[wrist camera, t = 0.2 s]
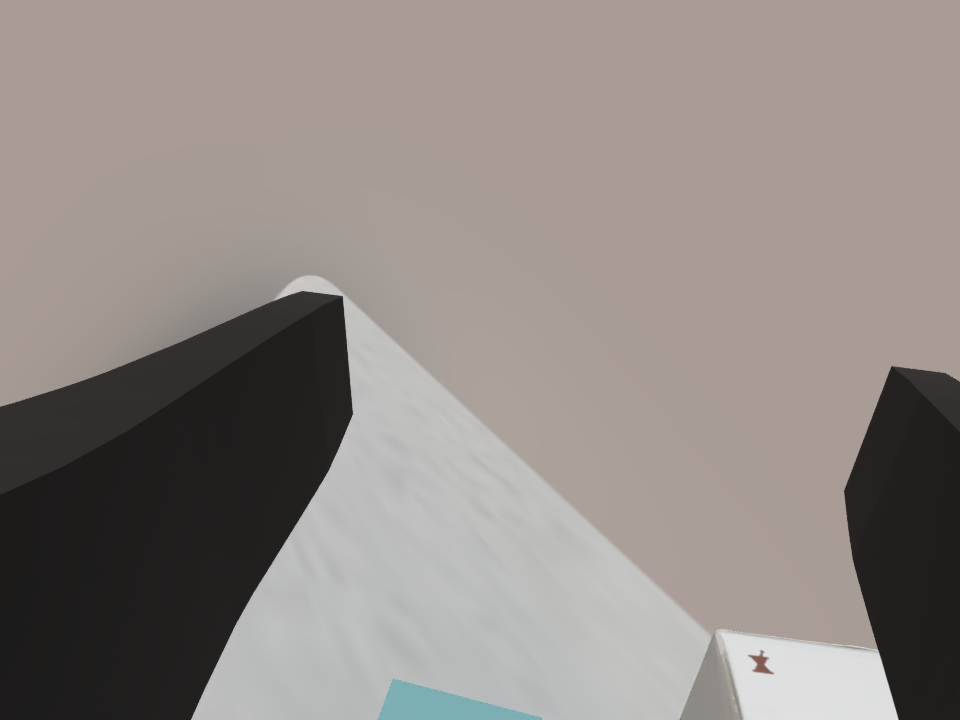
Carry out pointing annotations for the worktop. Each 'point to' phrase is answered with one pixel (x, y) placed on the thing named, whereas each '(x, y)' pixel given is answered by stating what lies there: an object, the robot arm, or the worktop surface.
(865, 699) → the supplement box
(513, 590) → the worktop surface
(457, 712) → the teal cube
